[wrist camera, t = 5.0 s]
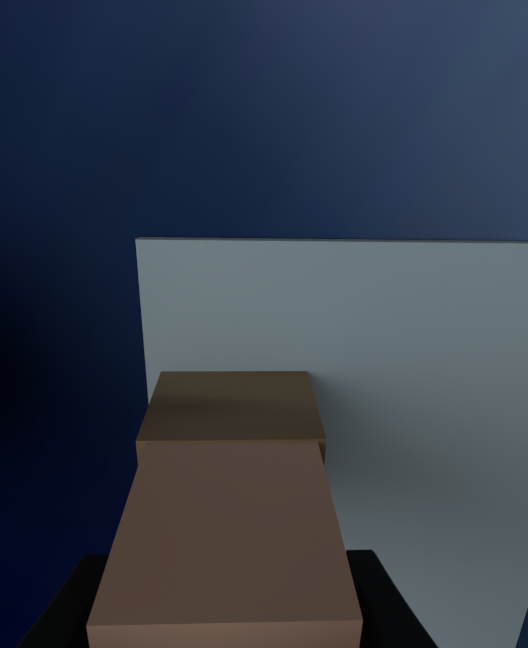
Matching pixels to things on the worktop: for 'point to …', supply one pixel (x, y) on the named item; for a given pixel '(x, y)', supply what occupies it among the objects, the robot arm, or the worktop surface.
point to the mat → (382, 395)
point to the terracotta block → (227, 553)
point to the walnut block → (232, 408)
